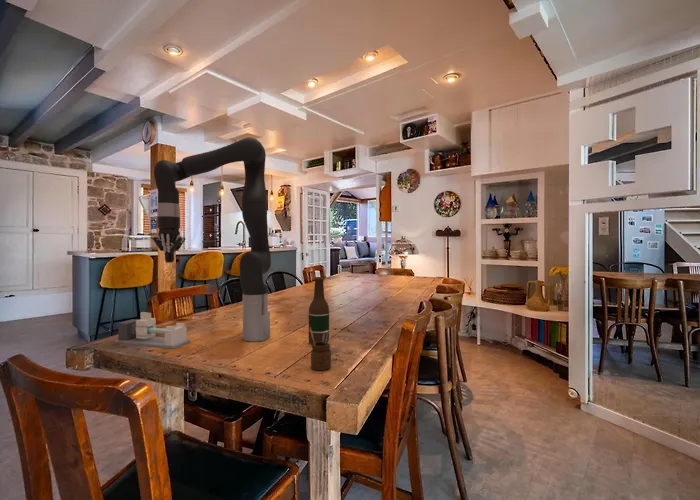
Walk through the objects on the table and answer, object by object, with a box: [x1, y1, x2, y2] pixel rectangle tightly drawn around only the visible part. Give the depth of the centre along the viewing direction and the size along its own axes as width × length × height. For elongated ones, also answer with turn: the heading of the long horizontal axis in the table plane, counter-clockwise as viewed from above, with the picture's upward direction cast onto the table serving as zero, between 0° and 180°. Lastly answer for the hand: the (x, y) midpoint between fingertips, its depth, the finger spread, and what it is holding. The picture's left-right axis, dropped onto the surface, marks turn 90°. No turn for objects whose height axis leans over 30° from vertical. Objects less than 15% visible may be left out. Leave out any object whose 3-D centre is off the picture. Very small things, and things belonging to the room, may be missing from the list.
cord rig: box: [114, 319, 191, 350], centre depth 126 cm, size 26×8×7 cm, turn 75°
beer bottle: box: [308, 276, 330, 345], centre depth 127 cm, size 8×8×24 cm
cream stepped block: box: [135, 311, 157, 339], centre depth 127 cm, size 4×5×9 cm
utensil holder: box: [310, 327, 332, 371], centre depth 102 cm, size 6×6×12 cm
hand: (169, 262), depth 129 cm, fingers closed
